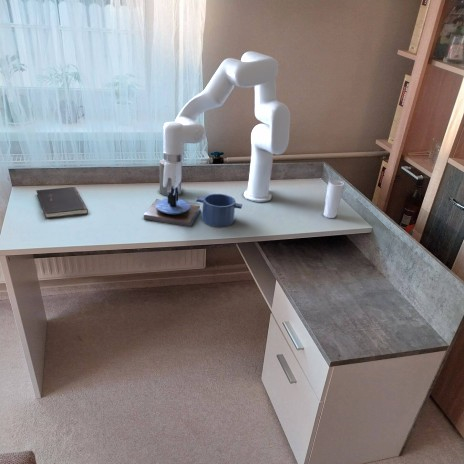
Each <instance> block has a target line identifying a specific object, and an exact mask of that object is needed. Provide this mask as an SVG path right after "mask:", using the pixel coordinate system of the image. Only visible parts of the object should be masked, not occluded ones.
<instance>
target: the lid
mask: <svg viewBox="0 0 464 464" xmlns="http://www.w3.org/2000/svg"><path fill="white" fill-rule="evenodd" d="M175 195H176V204H175V205H174V204H168V198H164V199H159V200H160V201H158V202H157V203H156V209H157V210H158V211H160V212H163V213H166V214H182V213H185V212H187V211H189V209H190V205H191V204H190V203H189V202H187V201H185V200H184V199H179V198H178V201H177V192H175ZM189 204H190V205H189Z"/></svg>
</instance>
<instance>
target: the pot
mask: <svg viewBox="0 0 464 464" xmlns="http://www.w3.org/2000/svg"><path fill="white" fill-rule="evenodd" d="M195 202H196V203H202V209H201V211H202V212H201V219H202V222H203V223H204V224H206V225H208V226H210V227H211V226H212V227H217V228H223V227H224V228H225V227H229V226H231V225H233V223H234V221H235V213H236V209H242V207H243V204H242V203H238V202H237V201H236V199H235V198H234V197H233V196H231V195H228V194H223V193H210V194H207V195H204V197H200V196H199V197H197V198H196V201H195Z"/></svg>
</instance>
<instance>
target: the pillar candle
mask: <svg viewBox="0 0 464 464" xmlns="http://www.w3.org/2000/svg"><path fill="white" fill-rule="evenodd" d="M164 165H165V161H164V158H162V159H160V160H159V193H160V194H161V195H163V196H167V197H168V192H167V187H168V185H167V186H166V187H163V177H164ZM181 178H182V176H181ZM181 194H182V181H181V182H180V183H179V190H178V196H179V195H181Z"/></svg>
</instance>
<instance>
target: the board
mask: <svg viewBox="0 0 464 464" xmlns="http://www.w3.org/2000/svg"><path fill="white" fill-rule="evenodd" d="M160 200H161V199H160V198H159V199H158V198H156V199H155V200H154V202H152V204H151V205H150V206H149V207H148V209H146V211H145V212H144V213H143V220H148V221H154V222H160V223H167V224H172V225H178V226H185V227H191V226H192V224H193V223H194V222H195V221H196V220H195V219H196V218H197V216H198V215H199V213H200V212H201V206H200V205H196V204H190V203H189V205H190V209H189V211H187V212H185V213H182V214H166V213H163V212H160V211H158V210H157V209H156V203H157V202H158V201H160Z"/></svg>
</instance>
